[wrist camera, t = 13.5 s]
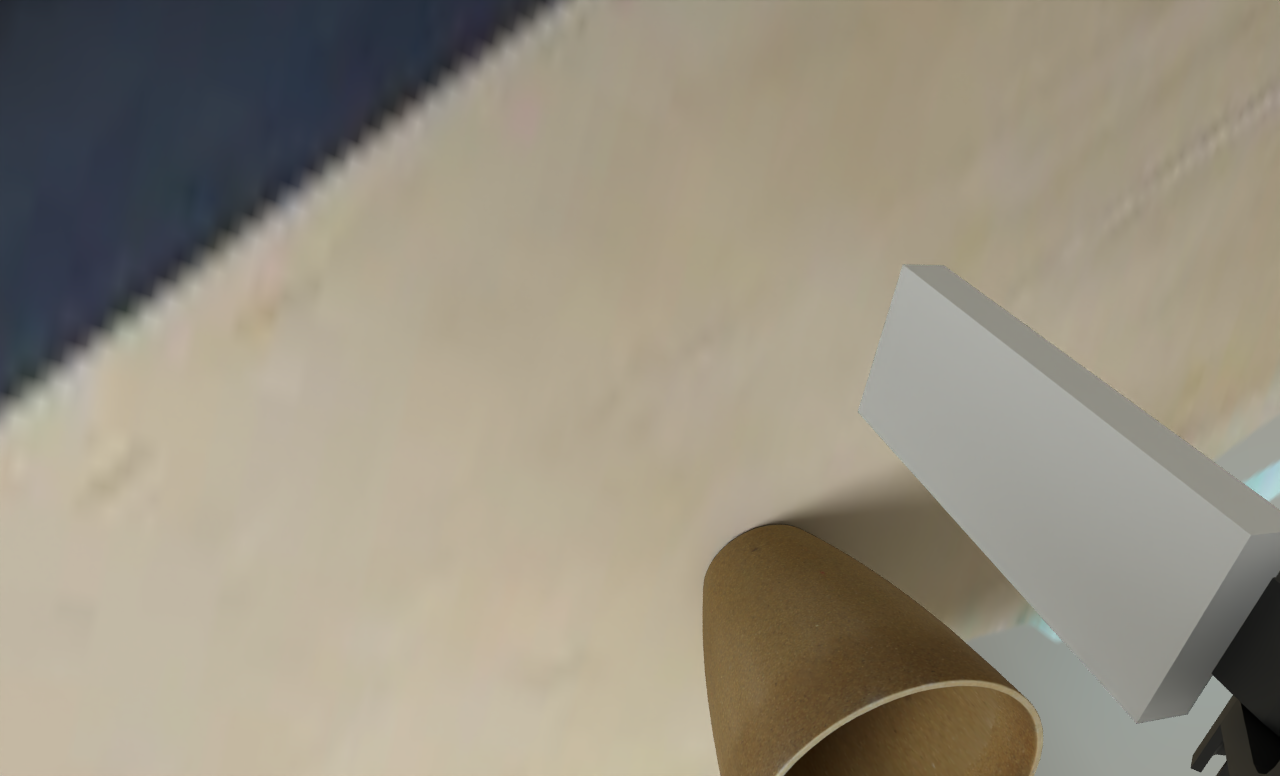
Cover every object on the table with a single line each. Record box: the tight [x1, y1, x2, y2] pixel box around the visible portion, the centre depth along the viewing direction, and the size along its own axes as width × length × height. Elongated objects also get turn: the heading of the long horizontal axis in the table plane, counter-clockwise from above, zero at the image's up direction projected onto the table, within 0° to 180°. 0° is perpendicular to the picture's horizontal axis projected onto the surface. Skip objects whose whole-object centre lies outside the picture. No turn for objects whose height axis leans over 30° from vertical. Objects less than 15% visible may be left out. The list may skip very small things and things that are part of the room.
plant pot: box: [703, 525, 1043, 776], centre depth 47 cm, size 15×15×16 cm
